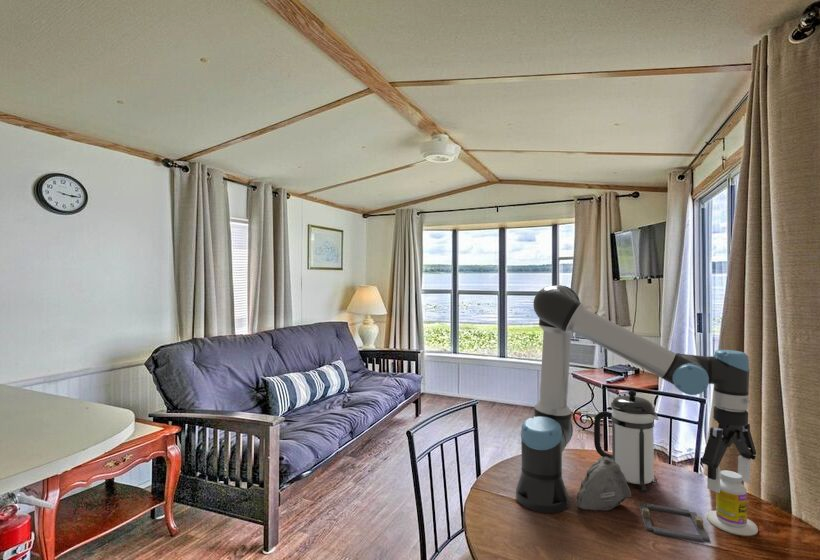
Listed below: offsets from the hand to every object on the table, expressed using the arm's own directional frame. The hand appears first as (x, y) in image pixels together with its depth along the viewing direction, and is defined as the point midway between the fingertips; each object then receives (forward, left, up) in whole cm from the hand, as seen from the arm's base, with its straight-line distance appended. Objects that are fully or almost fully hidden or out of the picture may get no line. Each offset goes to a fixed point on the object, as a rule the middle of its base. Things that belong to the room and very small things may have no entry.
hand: (729, 485), depth 114 cm
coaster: (0, 0, -10) cm, 10 cm away
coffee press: (-23, +18, -10) cm, 31 cm away
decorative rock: (-32, -4, -10) cm, 33 cm away
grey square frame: (-15, -5, -10) cm, 18 cm away
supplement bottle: (0, 0, -10) cm, 10 cm away
